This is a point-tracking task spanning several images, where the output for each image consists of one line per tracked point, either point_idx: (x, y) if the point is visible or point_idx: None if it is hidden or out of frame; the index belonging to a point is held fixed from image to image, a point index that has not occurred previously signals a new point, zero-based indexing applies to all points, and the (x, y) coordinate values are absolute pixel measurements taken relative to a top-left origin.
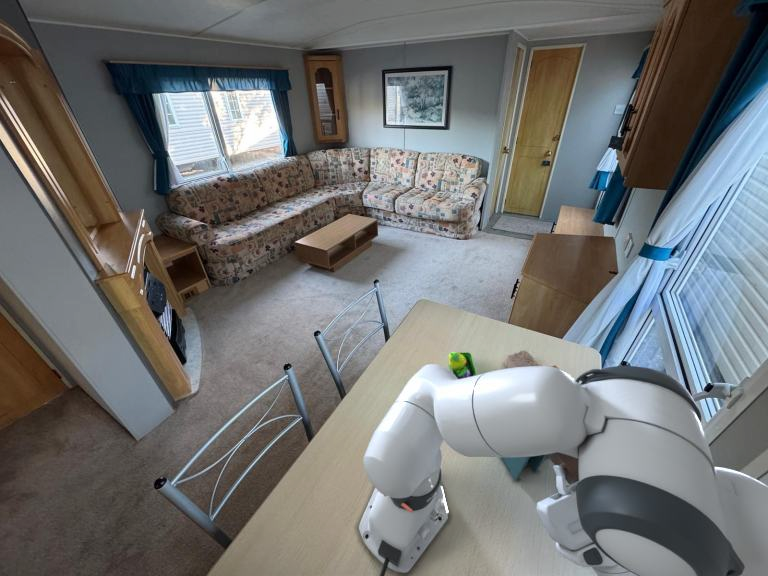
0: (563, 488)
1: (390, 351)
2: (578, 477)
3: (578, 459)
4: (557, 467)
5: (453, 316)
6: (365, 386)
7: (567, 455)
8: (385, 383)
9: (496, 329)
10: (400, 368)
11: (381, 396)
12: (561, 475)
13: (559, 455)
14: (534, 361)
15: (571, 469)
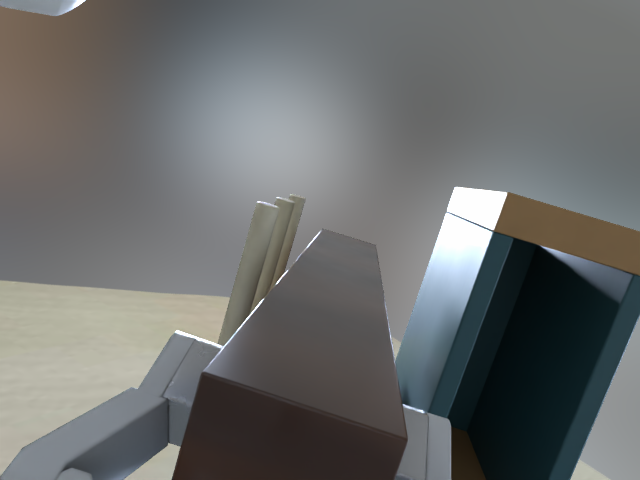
0: (25, 454)
1: (199, 299)
2: (251, 443)
3: (385, 371)
4: (176, 332)
5: (395, 343)
6: (73, 291)
7: (324, 329)
8: (116, 309)
9: None
10: (181, 317)
11: (74, 312)
12: (143, 385)
13: (269, 305)
14: None
15: (247, 349)
